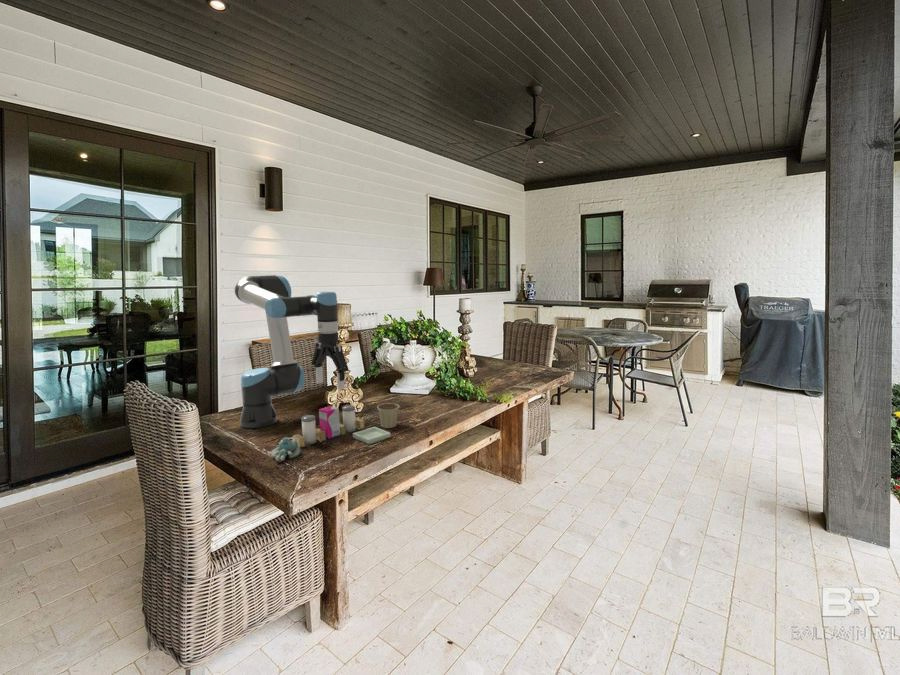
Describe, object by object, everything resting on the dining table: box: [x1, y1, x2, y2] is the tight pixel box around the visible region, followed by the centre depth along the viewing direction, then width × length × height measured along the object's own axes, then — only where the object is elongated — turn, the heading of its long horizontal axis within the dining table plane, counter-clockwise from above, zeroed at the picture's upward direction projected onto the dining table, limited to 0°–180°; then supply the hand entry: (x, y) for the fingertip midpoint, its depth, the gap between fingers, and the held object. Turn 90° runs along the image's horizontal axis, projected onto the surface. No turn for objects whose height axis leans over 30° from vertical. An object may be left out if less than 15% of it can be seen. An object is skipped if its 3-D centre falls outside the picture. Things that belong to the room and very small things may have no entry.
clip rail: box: [292, 417, 365, 449], centre depth 185 cm, size 8×29×4 cm, turn 135°
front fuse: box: [300, 414, 318, 446], centre depth 177 cm, size 5×5×10 cm
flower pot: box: [376, 402, 400, 429], centre depth 195 cm, size 9×9×9 cm
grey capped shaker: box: [341, 404, 357, 434], centre depth 190 cm, size 5×5×10 cm
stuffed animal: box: [270, 436, 301, 462], centre depth 164 cm, size 11×7×12 cm
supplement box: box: [318, 405, 341, 440], centre depth 184 cm, size 6×6×12 cm
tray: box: [352, 426, 392, 445], centre depth 182 cm, size 11×11×2 cm
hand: (330, 385), depth 180 cm, fingers open, 13 cm apart
